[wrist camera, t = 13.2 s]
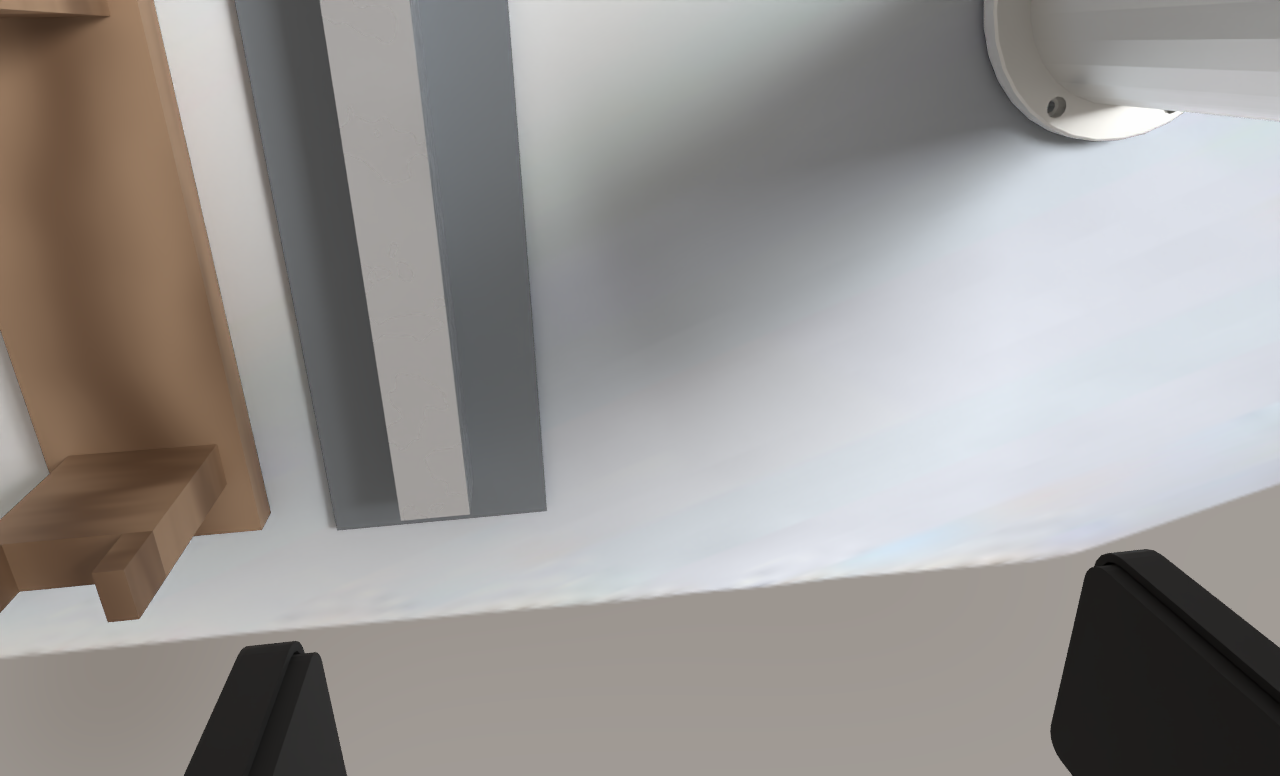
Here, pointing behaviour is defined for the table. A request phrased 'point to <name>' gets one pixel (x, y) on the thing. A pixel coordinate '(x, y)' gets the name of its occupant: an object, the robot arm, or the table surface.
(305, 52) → the rubber mat
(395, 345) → the steel rail
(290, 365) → the table surface
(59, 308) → the walnut rail stand
